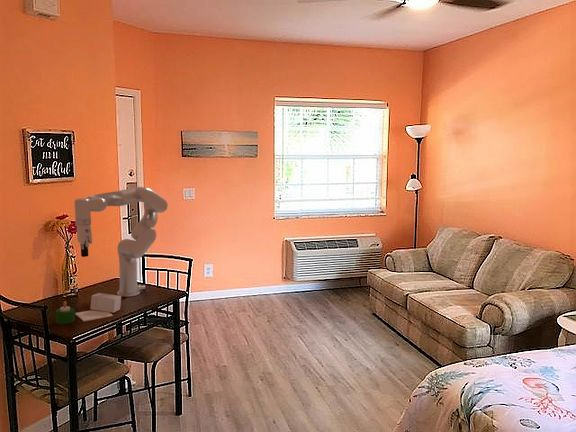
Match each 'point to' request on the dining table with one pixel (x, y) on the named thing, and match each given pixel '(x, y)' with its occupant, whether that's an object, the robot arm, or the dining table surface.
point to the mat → (93, 315)
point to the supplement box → (105, 302)
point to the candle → (65, 314)
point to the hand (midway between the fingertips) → (84, 256)
